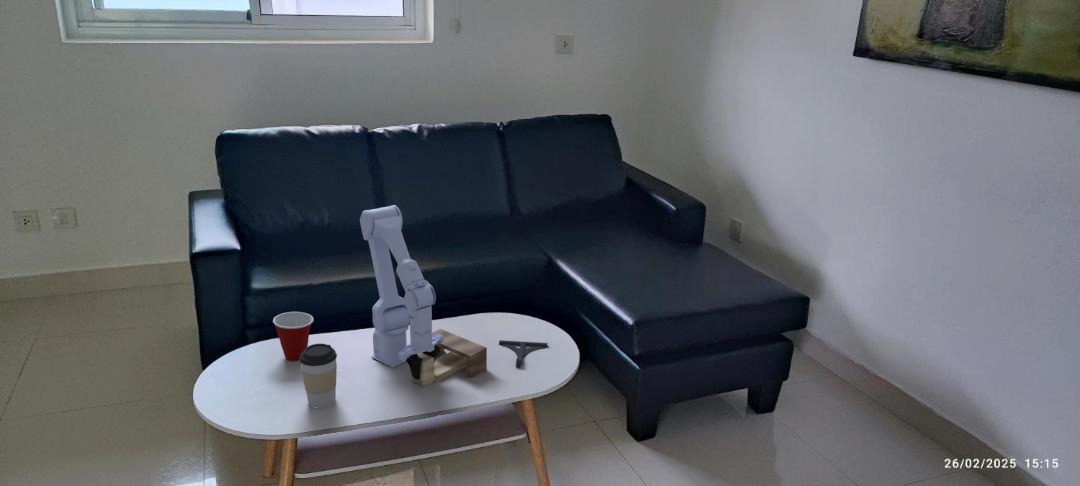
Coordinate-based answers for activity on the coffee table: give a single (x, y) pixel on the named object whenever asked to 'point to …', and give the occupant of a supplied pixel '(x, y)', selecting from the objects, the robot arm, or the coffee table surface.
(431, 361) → the oak l-shaped block
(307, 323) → the plastic cup
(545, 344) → the bracket
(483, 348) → the walnut shelf
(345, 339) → the coffee table surface
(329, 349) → the coffee cup
